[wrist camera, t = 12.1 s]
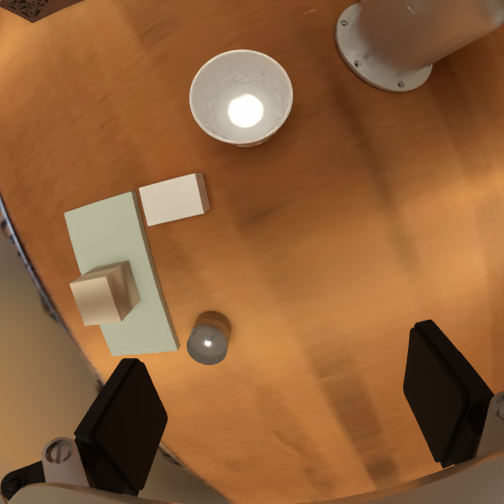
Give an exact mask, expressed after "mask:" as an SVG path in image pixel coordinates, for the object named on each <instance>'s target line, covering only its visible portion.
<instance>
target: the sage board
mask: <svg viewBox="0 0 504 504" xmlns="http://www.w3.org/2000/svg"><path fill="white" fill-rule="evenodd" d="M64 214H65V218H66V222H67V226H68V230H69V234H70V238H71V241H72V245H73V249H74V252H75V256H76V259H77V262H78V266H79V269H80V272H81V275H84V274H85V273H87V272H88V271H90V270H91V269H93V268H95V267H98V266H103V265H108V264H112V263H117V262H122V261H127V260H129V262H130V265H131V269H132V272H133V276H134V279H135V282H136V285H137V289H138V292H139V295H140V298H141V300H140V301H139V303H138V304H137V305H136V306H135V307H134V308H133V309H132V310H131V312H130V313H129V314H128V315H127V316H126V317H125V318H124V320H123V321H122V322H117V323H108V324H99V325H100V328H101V330H102V333H103V335H104V337H105V340H106V342H107V345H108V347H109V349H110V351H111V354H112V356H118V355H133V354H146V353H158V352H169V351H178V349H179V347H180V344H179V342H178V339H177V336H176V333H175V330H174V327H173V324H172V321H171V318H170V315H169V312H168V309H167V306H166V303H165V300H164V296H163V293H162V290H161V287H160V283H159V280H158V276H157V273H156V270H155V266H154V263H153V259H152V255H151V252H150V248H149V244H148V241H147V237H146V233H145V229H144V225H143V221H142V217H141V213H140V209H139V205H138V200H137V196H136V191H131V192H128V193H124V194H121V195H118V196H114V197H111V198H108V199H105V200H102V201H98V202H95V203H92V204H89V205H86V206H83V207H80V208H77V209H74V210H71V211H69V212H66V213H64Z"/></svg>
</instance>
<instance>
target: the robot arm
mask: <svg viewBox="0 0 504 504" xmlns="http://www.w3.org/2000/svg"><path fill="white" fill-rule="evenodd" d="M503 23H504V0H360V1H359V3H355V4H353V5H351V6H349V7H348V8H346V9H345V10H344V11H343V12H342V14H341V15H340V17H339V19H338V21H337V23H336V27H335V42H336V45H337V48H338V51H339V53H340V55H341V57H342V59H343V60H344V62H345V63H346V64H347V66H348V67H349V68H350V69H351V70H352V71H353V72H354V73H355V74H356V75H357V76H358V77H360V78H361V79H362V80H364V81H365V82H367V83H368V84H370V85H372V86H374V87H376V88H379V89H381V90H384V91H389V92H407V91H411V90H413V89H415V88H417V87H419V86H421V85H422V84H423V83H424V82H425V81H426V80H427V79H428V77H429V75H430V73H431V70H432V67H433V63H434V62H436V61H438V60H440V59H442V58H443V57H445V56H447V55H449V54H451V53H453V52H454V51H456V50H458V49H460V48H462V47H464V46H466V45H468V44H470V43H472V42H473V41H475V40H477V39H479V38H481V37H483V36H485V35H487V34H489V33H491V32H493V31H494V30H496V29H497V28H499V27H500V26H501V25H502V24H503ZM343 25H344V26H343ZM354 64H356V65H357V67H356V66H355V65H354ZM398 85H399V86H398ZM403 390H404V395H405V397H406V399H407V401H408V403H409V405H410V407H411V409H412V411H413V414H414V416H415V418H416V420H417V422H418V424H419V426H420V429H421V431H422V433H423V435H424V437H425V440H426V442H427V444H428V446H429V449H430V451H431V453H432V456H433V458H434V460H435V461H436V462H437V463H438V462H440V463H441V466H442V468H443V469H444V468H446V467H449V466H451V465H454V464H455V466H452V467H449V468H447V469H444V470H442V471H439V472H436V473H433V474H430V475H427V476H424V477H421V478H418V479H415V480H412V481H408V482H405V483H402V484H398V485H395V486H391V487H387V488H384V489H380V490H376V491H371V492H367V493H362V494H358V495H353V496H348V497H342V498H336V499H330V500H324V501H316V502H309V503H300V504H504V391H502V392H499V393H498V394H496V395H494V394H493V392H492V391H491V390H490V389H489V387H488V386H487V385H486V383H485V382H484V381H483V380H482V378H481V377H480V376H479V374H478V373H477V372H476V371H475V369H474V368H473V367H472V366H471V364H470V363H469V362H468V361H467V360H466V358H465V357H464V356H463V355H462V353H461V352H460V351H458V350H457V348H456V347H455V346H454V345H453V344H452V342H451V341H450V340H449V339H448V338H447V337H446V335H445V334H444V333H443V332H442V331H441V330H440V329H439V327H438V326H437V325H436V324H435V323H434V322H433V321H432V320H430V319H429V320H425V321H421V322H417V323H416V324H415V325H414V328H411V330H410V337H409V347H408V355H407V363H406V371H405V378H404V384H403ZM167 420H168V416H167V413H166V411H165V408H164V406H163V404H162V402H161V400H160V398H159V396H158V393H157V391H156V389H155V387H154V385H153V382H152V380H151V378H150V375H149V373H148V371H147V368H146V366H145V364H144V363H143V362H141V361H140V360H139V359H137V358H124V359H122V360H121V361H120V363H119V364H118V366H117V367H116V369H115V370H114V372H113V373H112V375H111V376H110V378H109V379H108V381H107V382H106V384H105V385H104V387H103V388H102V390H101V391H100V393H99V394H98V396H97V398H96V399H95V401H94V402H93V404H92V405H91V407H90V408H89V410H88V412H87V413H86V415H85V416H84V418H83V419H82V421H81V423H80V424H79V426H78V427H77V429H76V431H75V432H74V435H75V436H76V438H75V440H72V439H71V438H68V437H59V438H55V439H53V440H51V441H50V442H49V443H47V445H46V446H45V447H44V449H43V451H42V461H39V462H36V463H34V464H31V465H29V466H26V467H23V468H21V469H18V470H15V471H12V472H10V473H8V474H7V475H6V476H5V477H4V478H3V480H2V482H1V490H0V504H180V503H171V502H163V501H156V500H150V499H143V498H138V497H137V496H138V493H139V490H142V489H143V488H144V486H145V483H146V480H147V477H148V474H149V471H150V469H151V466H152V463H153V460H154V457H155V454H156V452H157V449H158V446H159V443H160V441H161V438H162V435H163V432H164V430H165V427H166V424H167ZM122 494H125V495H122ZM127 495H130V496H127ZM132 496H135V497H132Z"/></svg>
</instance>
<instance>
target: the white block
mask: <svg viewBox="0 0 504 504" xmlns="http://www.w3.org/2000/svg"><path fill="white" fill-rule="evenodd" d="M139 191H140V195H141V200H142V204H143V208H144V212H145V216H146V220H147V224H148V226H151V225H156V224H160V223H164V222H168V221H173V220H177V219H181V218H186V217H190V216H194V215H199V214H204V213H205V212H206V211H208V210H209V209H210V206H209V201H208V197H207V192H206V187H205V183H204V178H203V174H202V173H194V174H190V175H186V176H182V177H178V178H174V179H170V180H167V181H163V182H159V183H155V184H152V185H148V186H145V187H141V188H139Z"/></svg>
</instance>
